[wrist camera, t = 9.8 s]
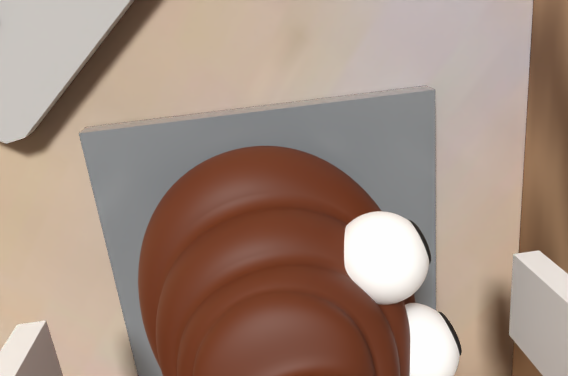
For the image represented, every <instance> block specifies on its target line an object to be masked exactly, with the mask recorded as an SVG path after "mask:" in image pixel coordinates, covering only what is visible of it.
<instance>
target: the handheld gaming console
mask: <svg viewBox="0 0 568 376" xmlns="http://www.w3.org/2000/svg"><path fill="white" fill-rule="evenodd" d="M133 2H134V0H0V141H1V142H3V143H6V144H7V143H10V142H13V141H16V140H20V139H23V138H25V137H27V136H28V135H30V134H31V133H32V132H34V130H35V129H36V128H37V126H38V125H39V124H40V122H41V121H42V120H43V119H44V117H45V116H46V115H47V113H48V112H49V111H50V109H51V108H52V107H53V106H54V104H55V103H56V102H57V100H58V99H59V98H60V96H61V95H62V94H63V93H64V91H65V90H66V89H67V87H68V86H69V85H70V84H71V82H72V81H73V80H74V78H75V77H76V76H77V74H78V73H79V72H80V71H81V69H82V68H83V67H84V65H85V64H86V63H87V61H88V60H89V59H90V58H91V56H92V55H93V54H94V52H95V51H96V50H97V48H98V47H99V46H100V45H101V43H102V42H103V41H104V39H105V38H106V37H107V36H108V34H109V33H110V32H111V30H112V29H113V28H114V26H115V25H116V24H117V23H118V21H119V20H120V19H121V17H122V16H123V15H124V13H125V12H126V11H127V10H128V8H129V7H130V6H131V4H132V3H133Z"/></svg>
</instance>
